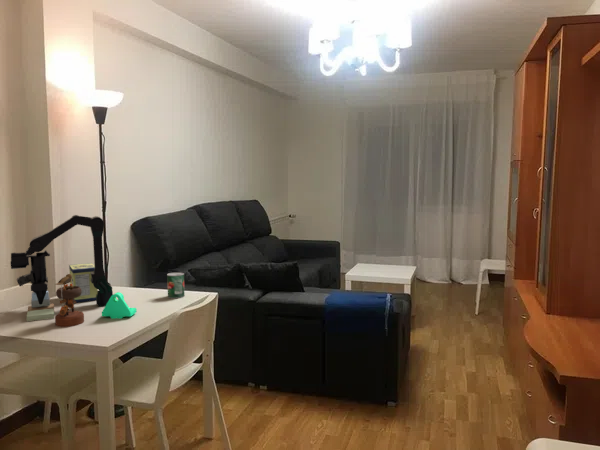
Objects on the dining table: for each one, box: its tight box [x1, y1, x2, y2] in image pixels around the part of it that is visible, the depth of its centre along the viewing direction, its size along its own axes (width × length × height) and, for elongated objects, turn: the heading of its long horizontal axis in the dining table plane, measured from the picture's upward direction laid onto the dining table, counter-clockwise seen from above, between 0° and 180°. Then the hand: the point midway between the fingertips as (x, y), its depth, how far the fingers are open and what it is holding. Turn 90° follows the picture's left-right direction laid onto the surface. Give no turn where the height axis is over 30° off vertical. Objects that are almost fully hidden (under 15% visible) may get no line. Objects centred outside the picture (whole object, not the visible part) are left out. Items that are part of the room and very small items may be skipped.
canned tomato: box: [166, 271, 186, 299], centre depth 250 cm, size 8×8×11 cm
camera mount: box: [101, 291, 138, 319], centre depth 217 cm, size 12×8×10 cm, turn 88°
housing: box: [30, 290, 51, 307], centre depth 225 cm, size 7×5×6 cm
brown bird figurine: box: [54, 273, 85, 328], centre depth 208 cm, size 15×11×20 cm
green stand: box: [26, 307, 55, 322], centre depth 216 cm, size 10×9×2 cm
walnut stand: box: [27, 303, 55, 311], centre depth 225 cm, size 10×7×2 cm
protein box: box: [68, 262, 99, 304], centre depth 247 cm, size 10×16×16 cm
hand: (40, 302), depth 225 cm, fingers closed on housing, 5 cm apart
